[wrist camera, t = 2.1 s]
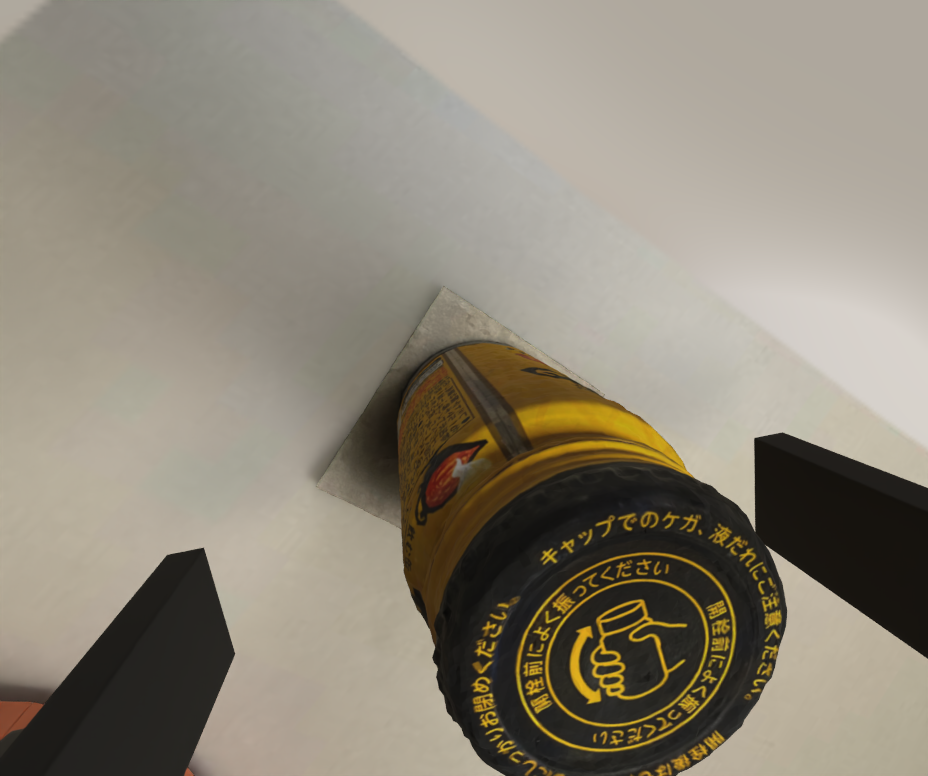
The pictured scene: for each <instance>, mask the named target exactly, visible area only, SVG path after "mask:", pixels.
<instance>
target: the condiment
mask: <svg viewBox="0 0 928 776" xmlns="http://www.w3.org/2000/svg"><path fill="white" fill-rule="evenodd" d="M604 395H605V394H603V393H602V392H600V391H599V390H597V389H596V388H594V387H593V386H591V385H590V384H588V383H587V382H585V381H584V380H582V379H581V378H580V377H578V376H576V375H575V374H573V373H572V372H570V371H569V370H567V369H566V368H564V367H563V366H561V365H560V364H558V363H557V362H555V361H554V360H553V359H551V358H550V357H548V356H547V355H545V354H544V353H542V352H541V351H539V350H538V349H536V348H535V347H533V346H532V345H530V344H529V343H527V342H526V341H524V340H523V339H521V338H520V337H518V336H517V335H515V334H514V333H513V332H511V331H510V330H508V329H507V328H505V327H504V326H502V325H501V324H499V323H498V322H496V321H495V320H493V319H492V318H490V317H489V316H488V315H486V314H485V313H483V312H481V311H480V310H479V309H477V308H476V307H474V306H473V305H471V304H470V303H468V302H467V301H465V300H464V299H462V298H461V297H459V296H458V295H456V294H455V293H453V292H452V291H450V290H449V289H448V288H446V287H445V286H443V288H442V290H441V291H440V293H439V294H438V296H437V297H436V299H435V301H434V302H433V304H432V305H431V307H430V308H429V310H428V311H427V313H426V315H425V316H424V318H423V319H422V321H421V322H420V324H419V325H418V327H417V329H416V330H415V332H414V333H413V335H412V336H411V338H410V340H409V341H408V343H407V344H406V346H405V347H404V349H403V350H402V352H401V354H400V355H399V357H398V358H397V360H396V361H395V363H394V365H393V366H392V368H391V369H390V371H389V372H388V374H387V376H386V377H385V379H384V380H383V382H382V384H381V385H380V387H379V388H378V390H377V391H376V393H375V395H374V396H373V398H372V400H371V401H370V403H369V404H368V406H367V408H366V409H365V411H364V413H363V414H362V415H361V417H360V418H359V420H358V421H357V423H356V425H355V426H354V428H353V429H352V431H351V432H350V434H349V435H348V437H347V438H346V440H345V441H344V443H343V445H342V446H341V448H340V450H339V451H338V453H337V454H336V456H335V458H334V460H333V461H332V463H331V464H330V466H329V467H328V469H327V470H326V472H325V473H324V475H323V477H322V478H321V480H320V481H319V483H318V484H317V486H316V487H317V488H319V489H321V490H323V491H325V492H327V493H329V494H331V495H333V496H335V497H338V498H341V499H343V500H345V501H347V502H348V503H350V504H353V505H355V506H357V507H359V508H361V509H363V510H365V511H366V512H368V513H370V514H372V515H374V516H376V517H379V518H381V519H383V520H385V521H387V522H389V523H391V524H393V525H394V526H396V527H398V528H400V529H401V530H402V546H403V563H404V574H405V578H406V581H407V584H408V586H409V589H410V592H411V596H412V598H413V600H414V602H415V605H416V608H417V610H418V611H419V612H420V613H421V615H422V616H423V618H424V620H425V621H426V623H427V625H428V628H429V629H430V631H431V635H432V639H433V642H434V644H435V651H434V654H433V657H432V658H433V661H434V663H435V664H436V665H437V667H438V671H437V676H436V678H437V681H438V686H439V690H440V691H441V692H442V694H443V695H444V698H445V704H446V709H447V713H448V714H449V715H450V716H451V717H452V719H453V721H455V722H457V723H458V724H459V726H460V727H461V728H462V731H463V734H464V736H465V737H466V738H468V739H469V740H470V742H471V745H472V747H473V749H474V750H475V752H476V753H477V755H478V756H479V757H480V758H481V759H482V760H483V761H484V762H485V763H486V764H487V765H489V766H490V767H492V768H494V769H495V770H497V771H499V772H500V773H502V774H504V775H505V776H676V775H677V774H678V773H680V772H682V771H684V770H687V769H689V768H690V767H692V766H694V765H695V764H697V763H699V762H700V761H702V760H703V759H705V758H706V757H708V756H709V755H710V754H711V753H712V752H713V751H714V750H715V749H717V748H718V747H719V746H721V745H722V744H723V743H724V742H725V741H726V740H727V739H728V738H729V737H730V736H731V735H732V734H733V733H734V732H735V731H737V730H738V729H739V728H740V727H741V726H742V724H743V722H744V719H745V718H746V717H747V715H748V714H749V712H750V711H751V709H752V708H753V707H754V706H755V704H756V703H757V701H758V700H759V698H760V695H761V693H762V691H763V689H764V686H765V684H766V683H767V682H768V681H769V680H770V679H771V677H772V674H773V671H774V668H775V664H776V659H777V655H778V650H779V646H780V643H781V640H782V637H783V635H784V631H785V627H786V619H787V607H786V602H785V596H784V590H783V585H782V581H781V579H780V577H779V575H778V572H777V569H776V566H775V563H774V561H773V559H772V556H771V554H770V552H769V550H768V549H767V547H766V546H765V544H764V543H763V541H762V540H761V538H760V537H759V536H758V535H757V534H756V533H755V531H754V529H753V527H752V525H751V523H750V521H749V519H748V517H747V515H746V514H745V513H744V512H743V511H742V510H741V509H740V508H739V506H738V505H737V504H735V503H734V502H732V501H731V500H729V499H728V498H726V497H724V496H723V495H721V494H720V493H718V492H717V490H716V489H715V488H713V487H712V486H711V485H707V484H705V483H702V482H700V481H698V480H697V479H695V478H694V477H693V476H692V475H691V474H690V473H689V472H687V470H686V468H685V466H684V463H683V461H682V460H681V458H680V457H679V456H678V455H677V453H676V452H675V450H674V449H673V447H672V446H671V445H669V444H668V443H667V442H666V441H665V439H663V438H662V437H661V436H660V435H659V434H658V433H657V432H656V431H655V430H654V429H653V428H652V427H651V426H650V425H649V424H648V423H646V422H645V421H644V420H643V419H642V418H641V417H639V416H637V415H635V414H633V413H631V412H630V411H627V410H626V409H625V408H624V407H623V406H621V405H620V404H618V403H616V402H615V401H611V400H607V399H605V398H604Z"/></svg>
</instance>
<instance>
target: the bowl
mask: <svg viewBox="0 0 928 776" xmlns="http://www.w3.org/2000/svg"><path fill="white" fill-rule="evenodd" d="M43 705H44V704H40V703H36V702H33V703H31V702H20V701H0V740H1V739H3V738H4V737H5V736H6V735H7V734H9V733H10V732H11V731H14V730H19V729H23V728H25V727H26V726H27V725H28V723H29V722H30V721H31V720H32V719H33V717H34V716H35V715H36V714H37V713H38V711H39V710H40V709H41V708H42V706H43ZM184 776H195V775H194V774H193V773H192V772H191V771H190V770H189V768H188V767H187V770H186V772H185V774H184Z"/></svg>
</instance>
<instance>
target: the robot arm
mask: <svg viewBox="0 0 928 776" xmlns="http://www.w3.org/2000/svg"><path fill="white" fill-rule="evenodd" d="M754 451H755V533H756V534H757V535H758V536H759V537H760V538H761V540H762V541H763V543H764V544H765V545H766V546H768V547H769V548H770V549H772V550H773V551H775V552H776V553H778V554H779V555H780V556H782V557H783V558H785V559H786V560H788V561H789V562H790V563H792V564H793V565H795V566H796V567H798V568H799V569H800V570H802V571H803V572H805V573H806V574H808V575H809V576H810V577H812V578H813V579H815V580H816V581H818V582H819V583H820V584H822V585H823V586H825V587H826V588H828V589H829V590H830V591H832V592H833V593H835V594H836V595H838V596H839V597H840V598H842V599H843V600H845V601H846V602H848V603H849V604H850V605H852V606H853V607H855V608H856V609H858V610H859V611H860V612H862V613H863V614H865V615H866V616H868V617H869V618H870V619H872V620H873V621H875V622H876V623H878V624H879V625H880V626H882V627H883V628H885V629H886V630H888V631H889V632H890V633H892V634H893V635H895V636H896V637H898V638H899V639H900V640H902V641H903V642H905V643H906V644H908V645H909V646H910V647H912V648H913V649H915V650H916V651H918V652H919V653H920V654H922V655H923V656H925V657H926V658H928V488H926V487H924V486H921V485H918V484H916V483H913V482H911V481H908V480H905V479H903V478H900V477H898V476H895V475H892V474H890V473H887V472H884V471H882V470H879V469H877V468H874V467H871V466H869V465H866V464H864V463H861V462H858V461H856V460H853V459H850V458H848V457H845V456H843V455H840V454H837V453H835V452H832V451H830V450H827V449H824V448H822V447H819V446H816V445H814V444H811V443H809V442H806V441H803V440H801V439H798V438H796V437H793V436H790V435H788V434H785V433H778V434H773V435H768V436H763V437H758V438H754ZM234 656H235V652H234V648H233V645H232V642H231V638H230V635H229V632H228V628H227V625H226V621H225V618H224V615H223V611H222V608H221V604H220V601H219V598H218V594H217V591H216V587H215V584H214V581H213V577H212V574H211V570H210V567H209V564H208V560H207V557H206V554H205V550H204V548H200V549H195V550H190V551H185V552H180V553H175V554H170V555H167V556H166V557H165V558H164V560H163V561H162V562H161V563H160V564H159V566H158V567H157V568H156V569H155V570H154V572H153V573H152V574H151V575H150V577H149V578H148V579H147V580H146V581H145V583H144V584H143V585H142V586H141V587H140V589H139V590H138V591H137V592H136V594H135V595H134V596H133V597H132V598H131V600H130V601H129V602H128V603H127V604H126V606H125V607H124V608H123V609H122V611H121V612H120V613H119V614H118V615H117V617H116V618H115V619H114V620H113V621H112V623H111V624H110V625H109V626H108V628H107V629H106V630H105V631H104V632H103V634H102V635H101V636H100V637H99V638H98V640H97V641H96V642H95V643H94V645H93V646H92V647H91V648H90V649H89V651H88V652H87V653H86V654H85V655H84V657H83V658H82V659H81V660H80V662H79V663H78V664H77V665H76V666H75V668H74V669H73V670H72V671H71V672H70V674H69V675H68V676H67V677H66V679H65V680H64V681H63V682H62V683H61V685H60V686H59V687H58V688H57V689H56V691H55V692H54V693H53V694H52V696H51V697H50V698H49V699H48V700H47V702H46V703H45V704H44V705H43V706H42V708H41V709H40V710H39V711H38V713H37V714H36V715H35V716H34V717H33V719H32V720H31V721H30V722H29V723H28V725H27V726H26V727H25V728H23V729H19V730H14V731H11V732H10V733H9V734H7V735H6V736H5V737H4V738H3V739H1V740H0V776H184V774H185V772H186V770H187V767H188V765H189V763H190V760H191V758H192V755H193V753H194V751H195V748H196V746H197V744H198V741H199V739H200V736H201V734H202V732H203V729H204V727H205V725H206V722H207V720H208V717H209V715H210V713H211V710H212V708H213V706H214V703H215V701H216V698H217V696H218V694H219V691H220V689H221V687H222V684H223V682H224V679H225V677H226V675H227V672H228V670H229V667H230V665H231V663H232V660H233V658H234Z"/></svg>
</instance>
